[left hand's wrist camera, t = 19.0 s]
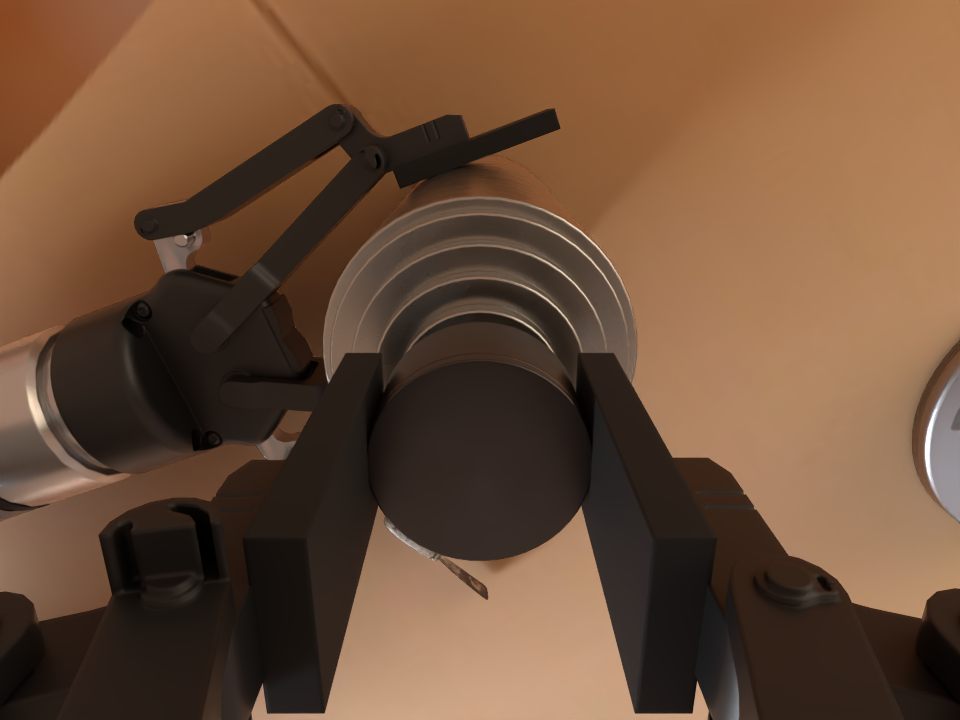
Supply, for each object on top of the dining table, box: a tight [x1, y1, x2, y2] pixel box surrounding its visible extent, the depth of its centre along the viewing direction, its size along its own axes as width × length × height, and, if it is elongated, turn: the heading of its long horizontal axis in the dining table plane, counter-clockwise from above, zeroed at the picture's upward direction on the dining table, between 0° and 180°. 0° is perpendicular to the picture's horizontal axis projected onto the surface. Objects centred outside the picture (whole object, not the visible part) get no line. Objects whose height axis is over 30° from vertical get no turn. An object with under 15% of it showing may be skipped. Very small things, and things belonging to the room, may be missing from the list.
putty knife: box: [384, 517, 488, 600], centre depth 40 cm, size 1×8×2 cm, turn 49°
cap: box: [367, 322, 592, 561], centre depth 13 cm, size 4×4×2 cm
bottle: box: [323, 155, 637, 392], centre depth 24 cm, size 8×8×23 cm
